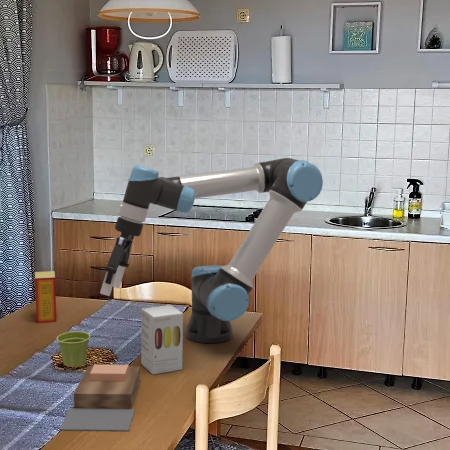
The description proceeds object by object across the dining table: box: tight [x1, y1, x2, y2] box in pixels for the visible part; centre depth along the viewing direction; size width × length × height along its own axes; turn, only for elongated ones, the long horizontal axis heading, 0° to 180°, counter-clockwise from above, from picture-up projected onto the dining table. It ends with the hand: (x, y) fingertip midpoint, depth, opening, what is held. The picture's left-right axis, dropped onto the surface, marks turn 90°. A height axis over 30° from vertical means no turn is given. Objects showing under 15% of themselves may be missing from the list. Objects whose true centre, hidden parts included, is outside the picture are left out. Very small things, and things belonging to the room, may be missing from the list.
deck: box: [73, 365, 141, 409], centre depth 179 cm, size 14×18×4 cm
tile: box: [90, 364, 129, 381], centre depth 181 cm, size 9×6×2 cm, turn 90°
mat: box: [59, 407, 136, 432], centre depth 165 cm, size 16×11×1 cm
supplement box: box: [140, 304, 184, 375], centre depth 197 cm, size 10×9×17 cm
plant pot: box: [55, 331, 91, 367], centre depth 198 cm, size 9×9×9 cm
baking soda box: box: [34, 270, 57, 324], centre depth 239 cm, size 10×6×16 cm
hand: (109, 290), depth 198 cm, fingers open, 13 cm apart
